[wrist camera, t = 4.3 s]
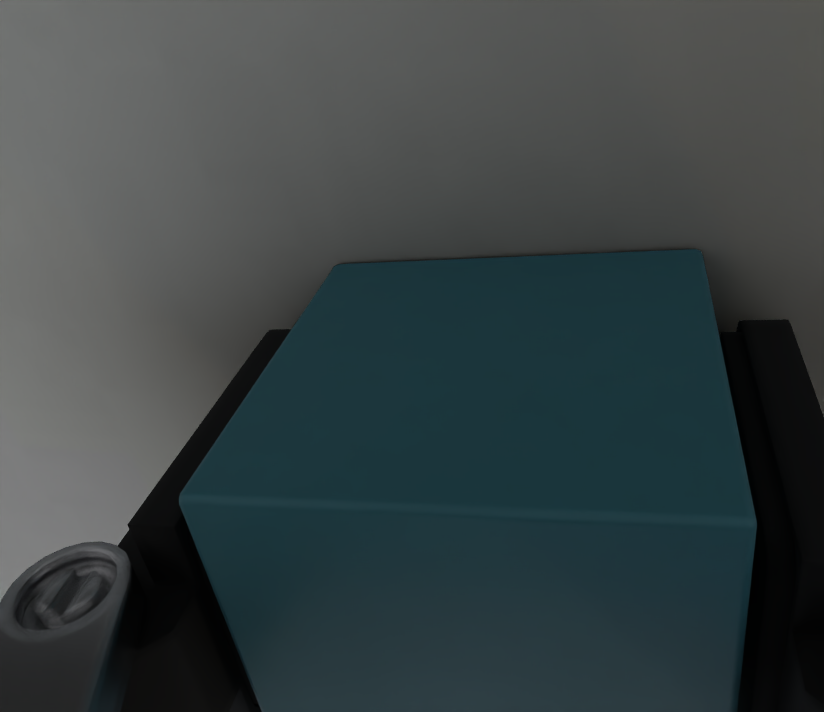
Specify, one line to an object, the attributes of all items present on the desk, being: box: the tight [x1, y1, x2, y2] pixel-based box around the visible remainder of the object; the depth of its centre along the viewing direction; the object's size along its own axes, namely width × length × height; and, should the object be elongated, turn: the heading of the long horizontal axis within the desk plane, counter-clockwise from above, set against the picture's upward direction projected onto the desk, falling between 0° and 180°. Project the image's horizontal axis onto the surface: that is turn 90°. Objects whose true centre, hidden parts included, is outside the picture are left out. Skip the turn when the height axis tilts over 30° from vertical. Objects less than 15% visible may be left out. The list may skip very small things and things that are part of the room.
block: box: [179, 249, 757, 712], centre depth 9 cm, size 5×5×5 cm
